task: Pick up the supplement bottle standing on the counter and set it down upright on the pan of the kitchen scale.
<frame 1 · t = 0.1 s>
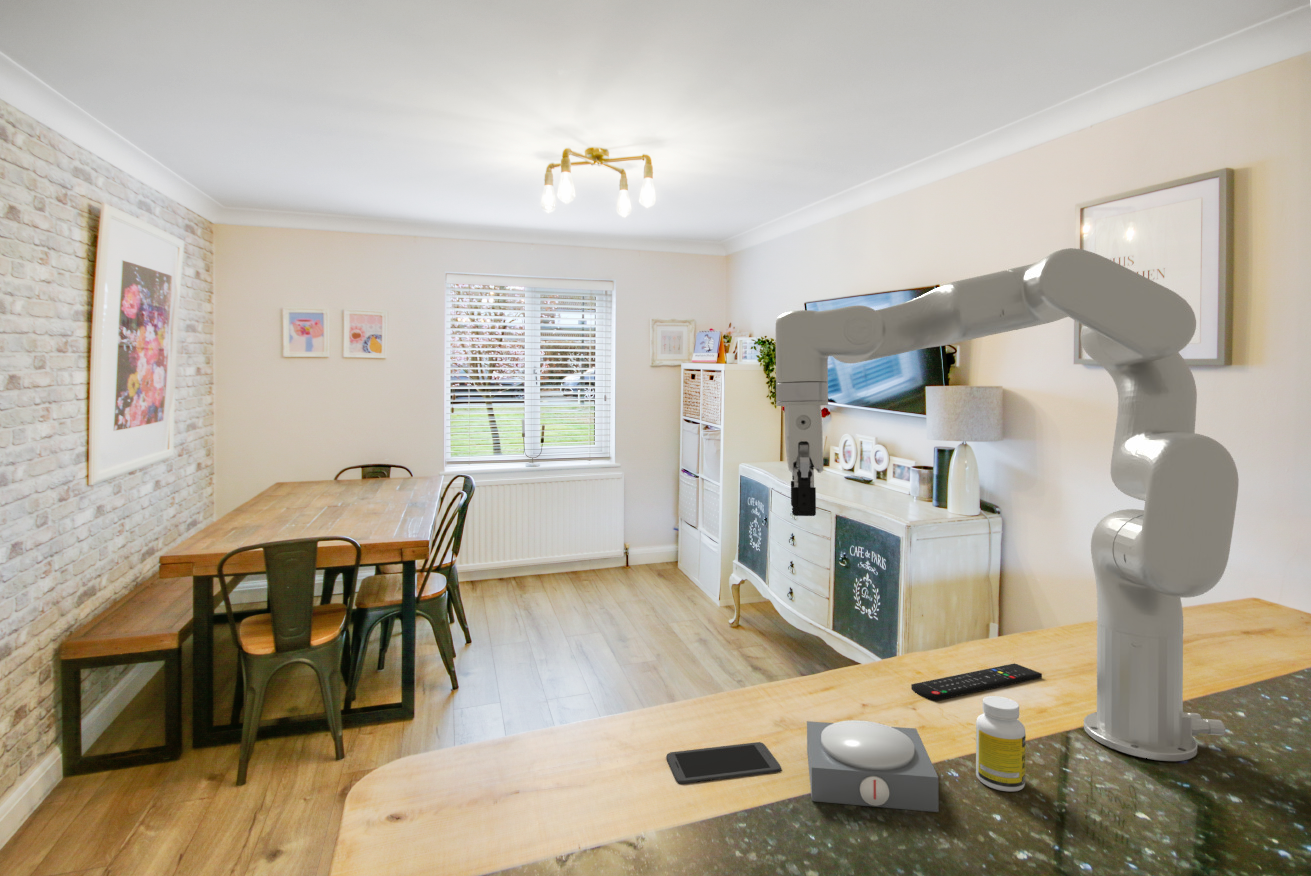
hand: (802, 510, 98), 31 cm above the kitchen counter, tool pointing down, fingers open, 9 cm apart
cell phone: (722, 767, 86), on the kitchen counter
supplement bottle: (1000, 782, 81), on the kitchen counter
kitchen scale: (867, 778, 82), on the kitchen counter
remote control: (976, 688, 110), on the kitchen counter
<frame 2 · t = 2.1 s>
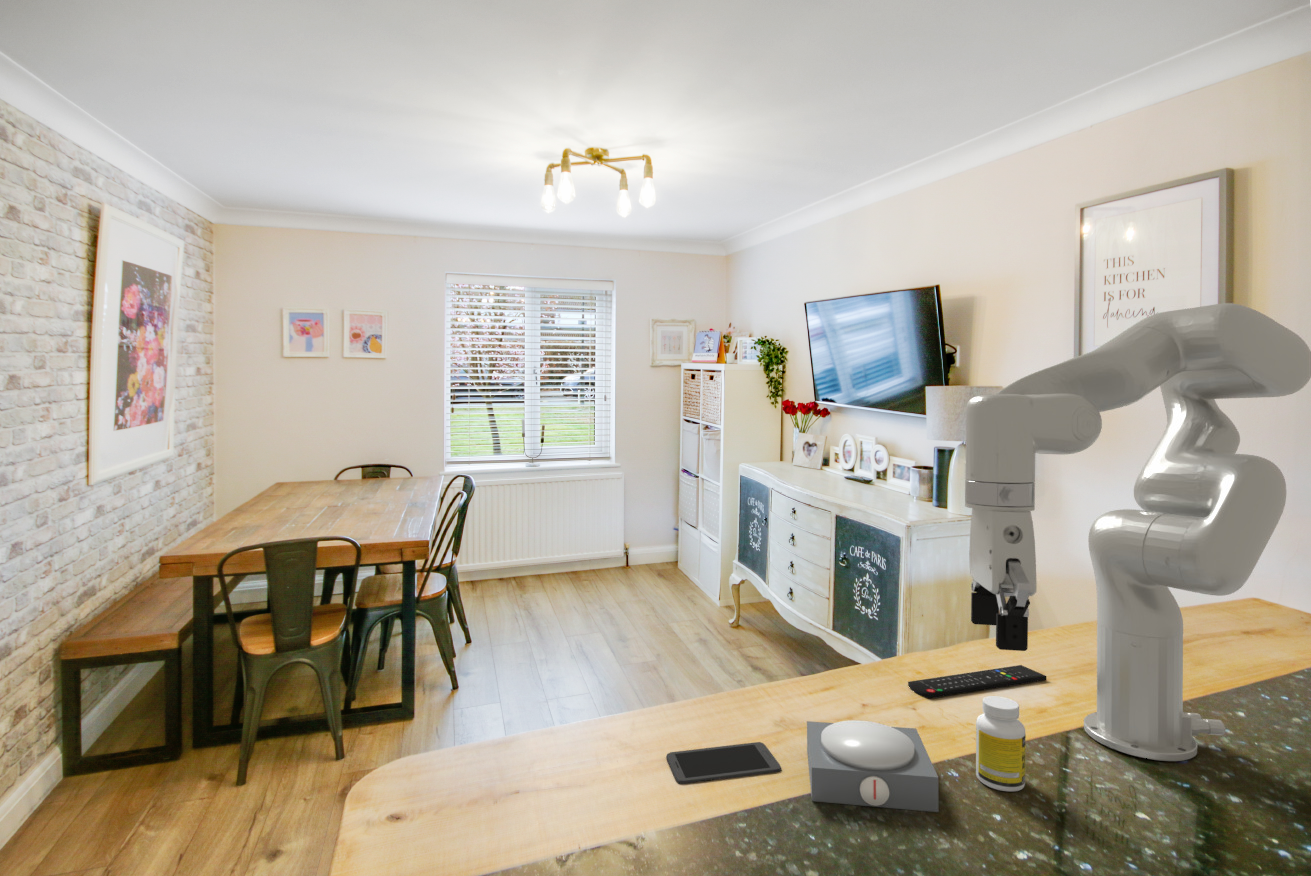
hand: (997, 635, 80), 18 cm above the kitchen counter, tool pointing down, fingers open, 9 cm apart
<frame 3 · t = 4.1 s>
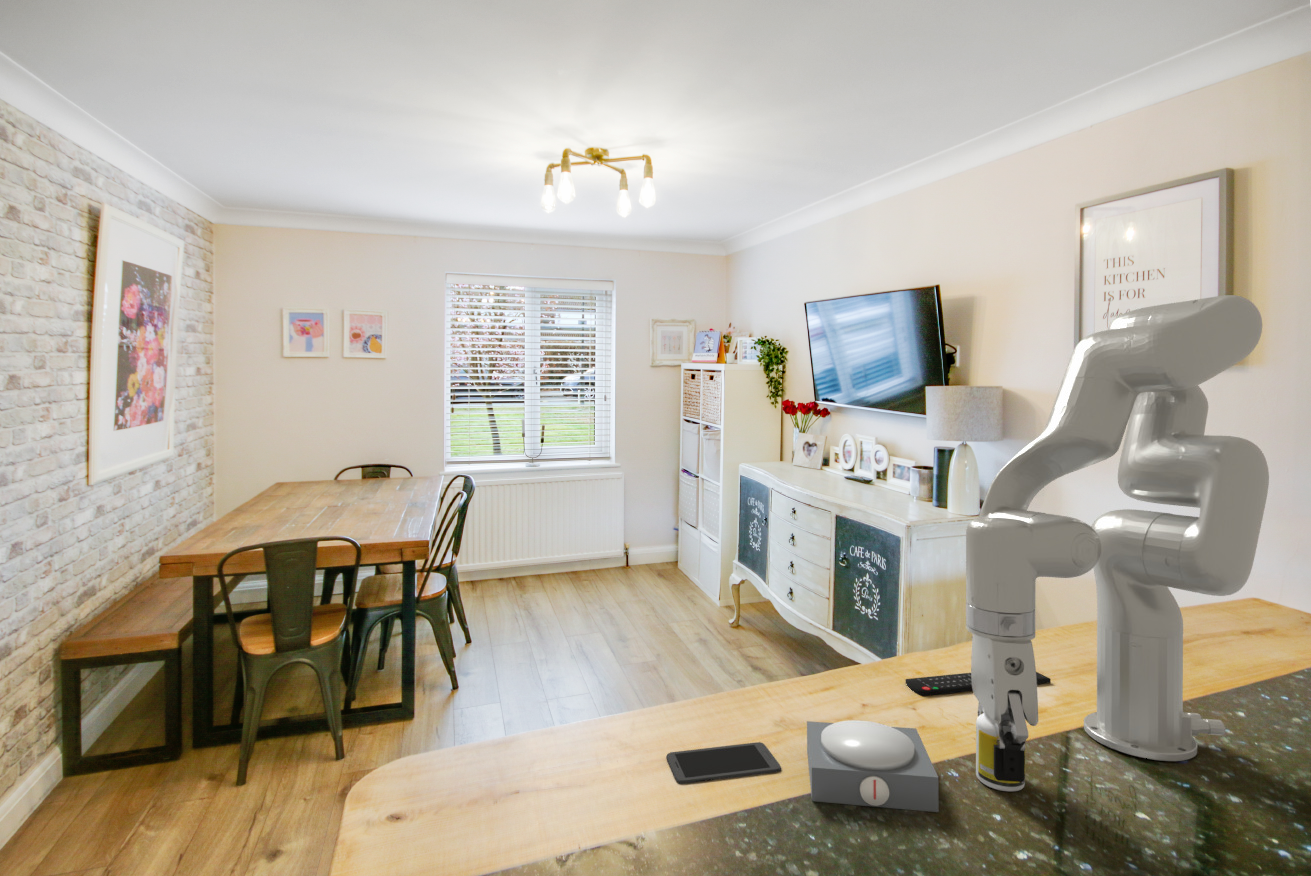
hand: (1000, 764, 81), 2 cm above the kitchen counter, tool pointing down, fingers closed on supplement bottle, 5 cm apart
supplement bottle: (1000, 782, 81), on the kitchen counter, touching gripper
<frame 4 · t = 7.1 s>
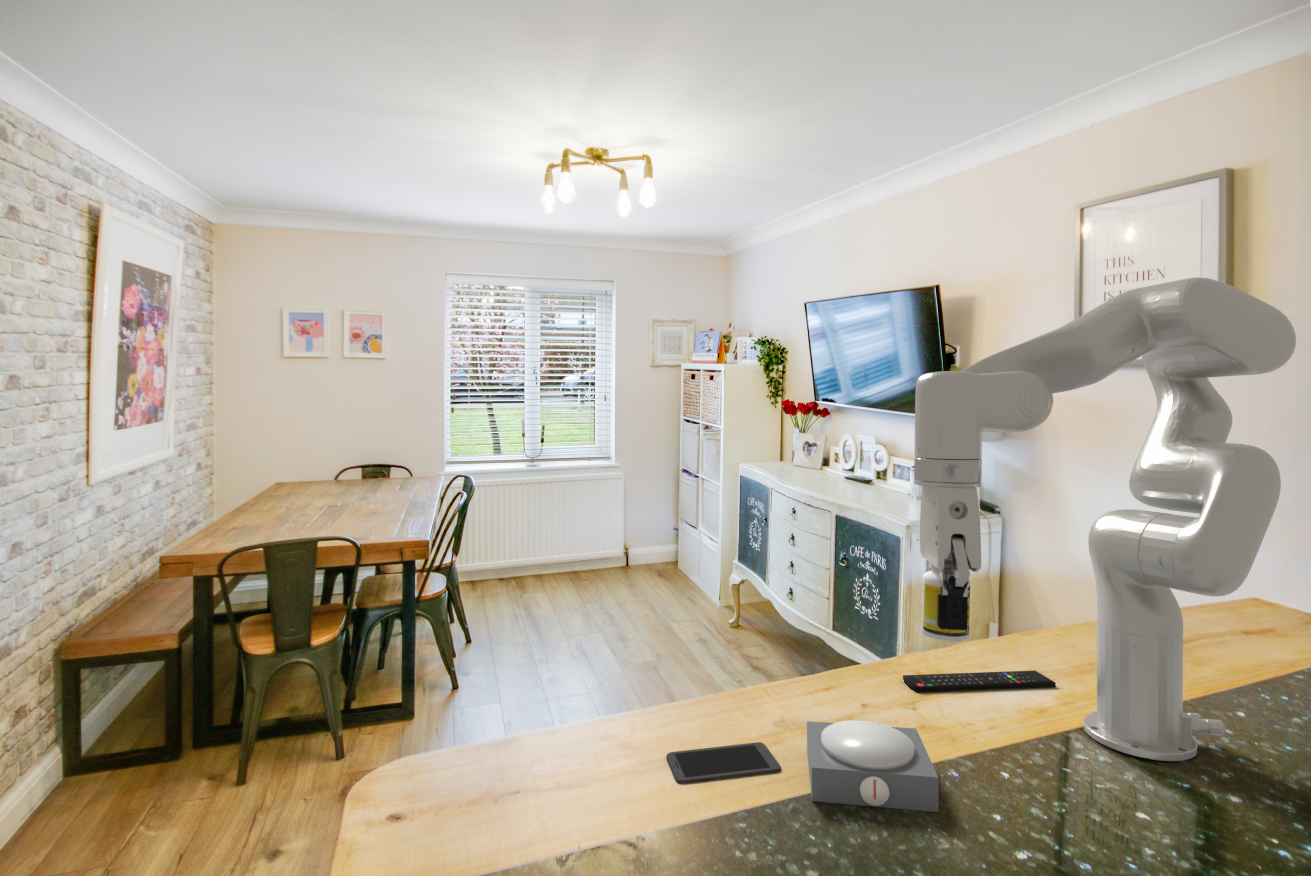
hand: (944, 619, 80), 20 cm above the kitchen counter, tool pointing down, fingers closed on supplement bottle, 5 cm apart
supplement bottle: (944, 637, 81), point 18 cm above the kitchen counter, touching gripper
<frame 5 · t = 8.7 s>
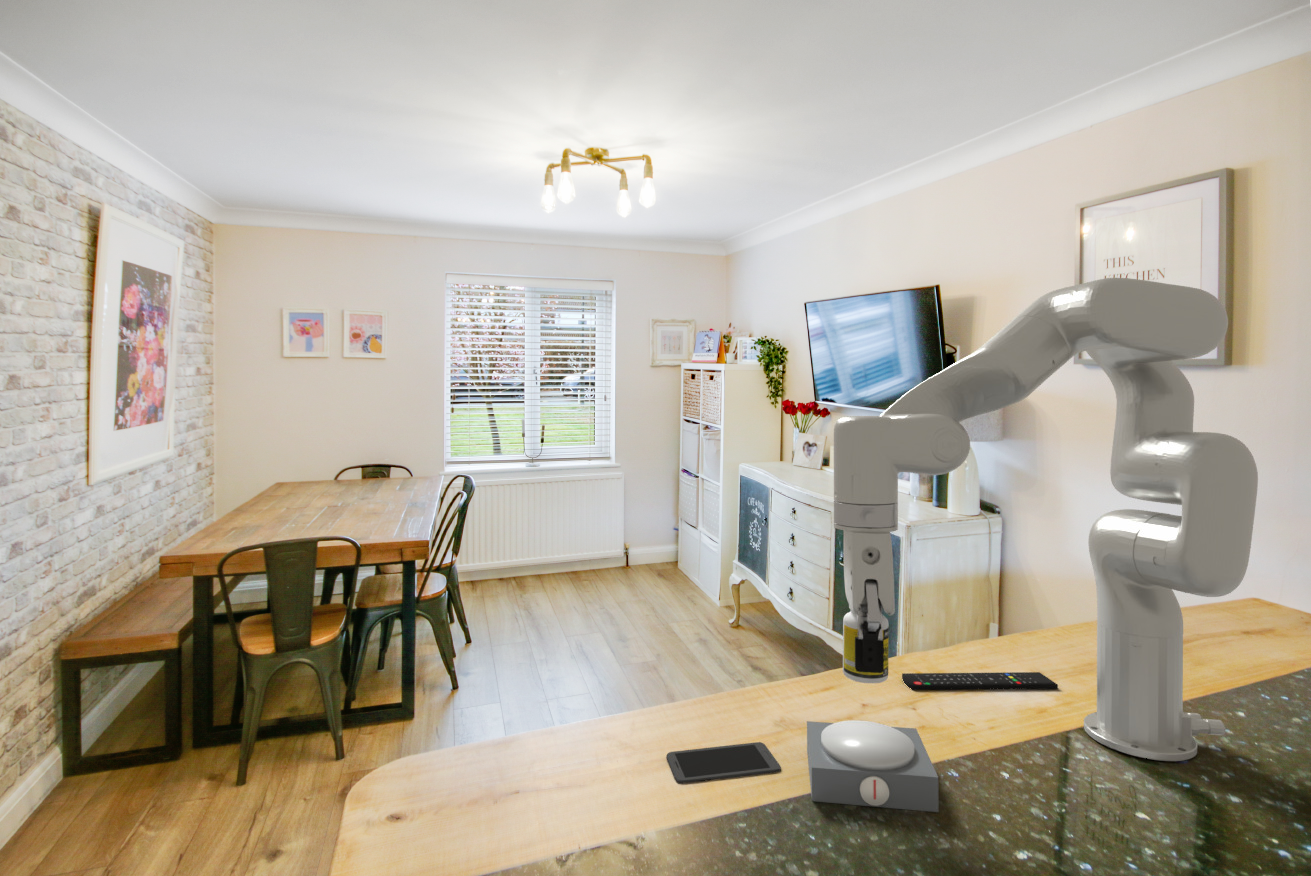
hand: (865, 660, 81), 15 cm above the kitchen counter, tool pointing down, fingers closed on supplement bottle, 5 cm apart
supplement bottle: (865, 677, 81), point 13 cm above the kitchen counter, touching gripper
when the fingers open (8 cm above the kitchen counter, at t = 10.2 s): supplement bottle drops 1 cm, resting on kitchen scale.
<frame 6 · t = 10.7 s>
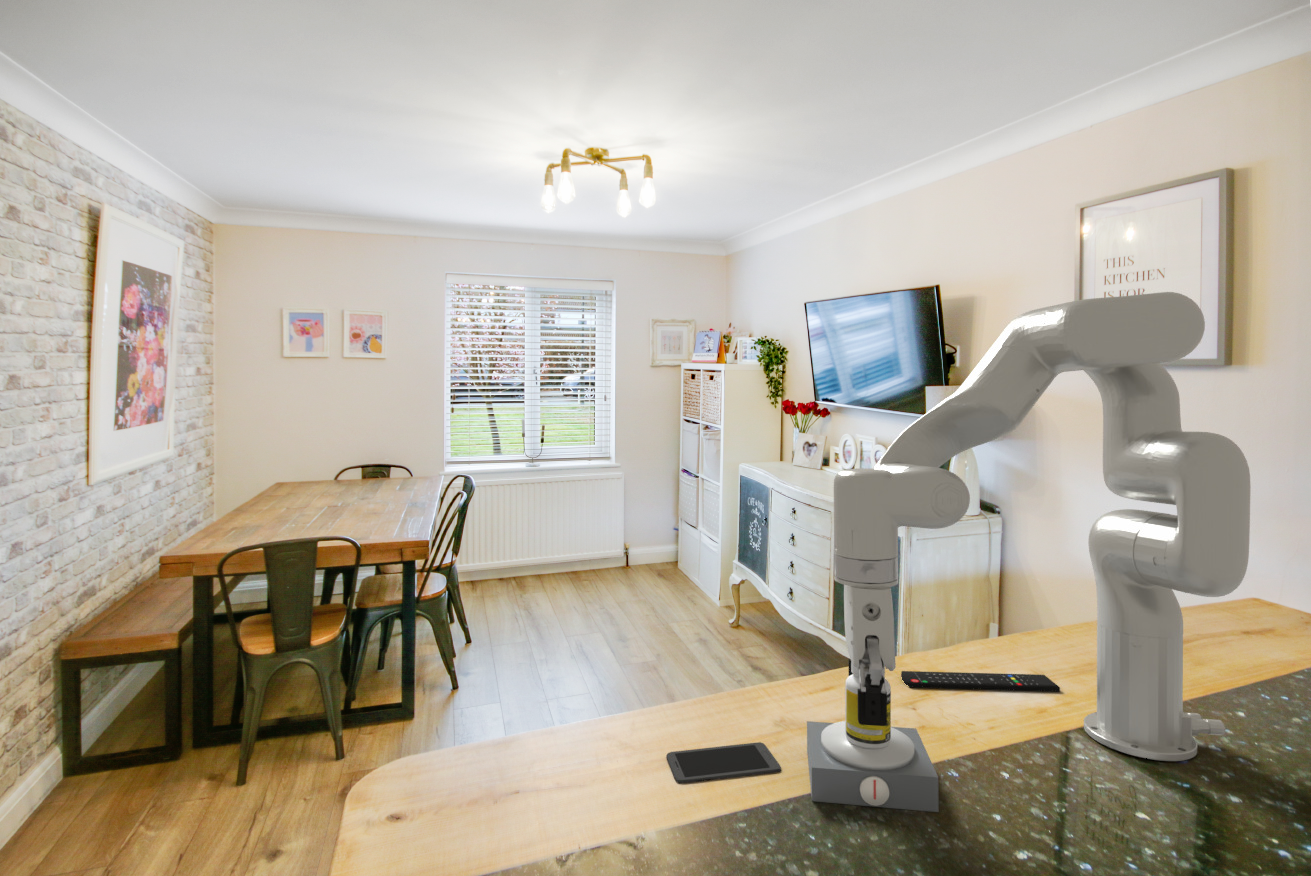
hand: (866, 706, 81), 9 cm above the kitchen counter, tool pointing down, fingers open, 9 cm apart
supplement bottle: (868, 741, 82), point 5 cm above the kitchen counter, touching kitchen scale
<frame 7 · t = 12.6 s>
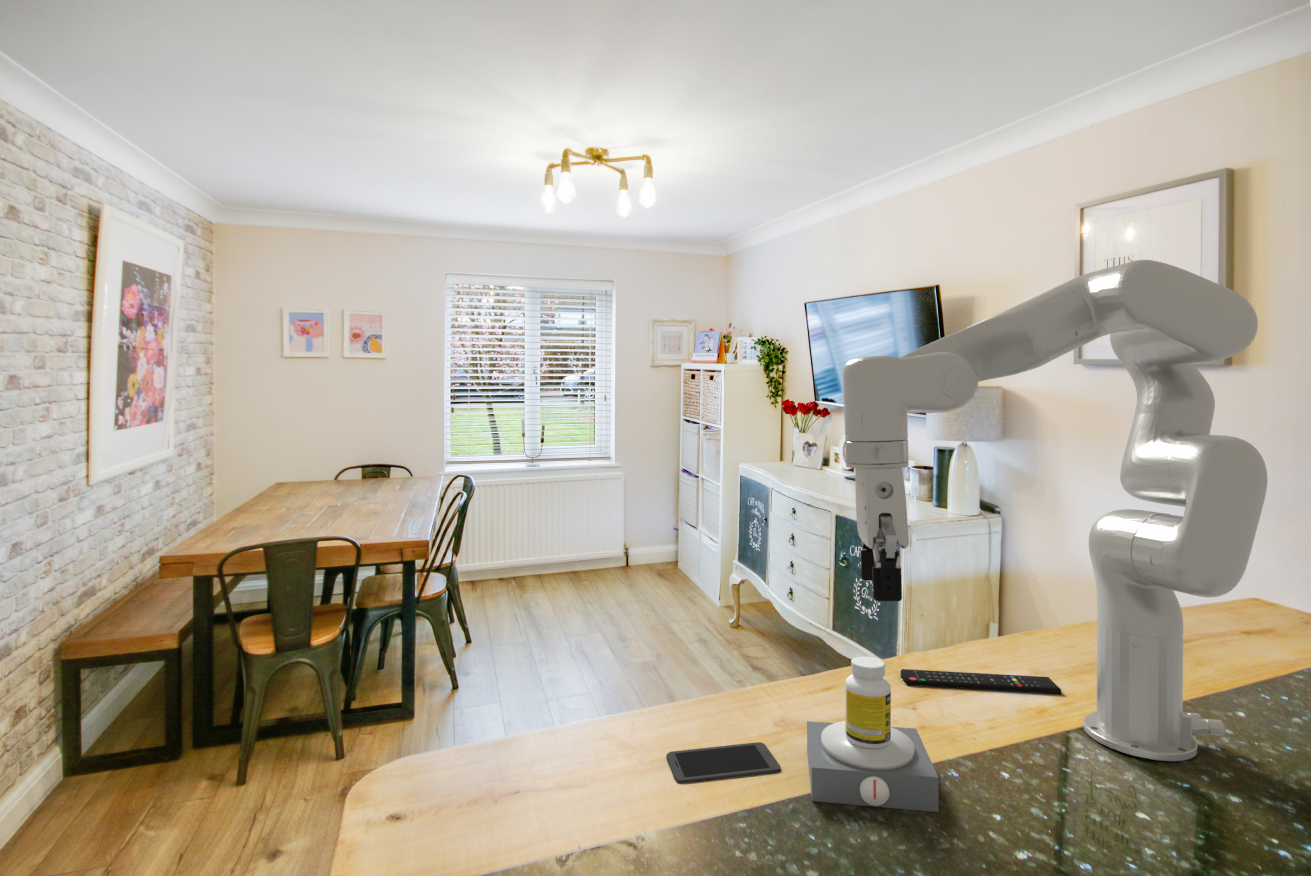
hand: (880, 589, 83), 23 cm above the kitchen counter, tool pointing down, fingers open, 9 cm apart
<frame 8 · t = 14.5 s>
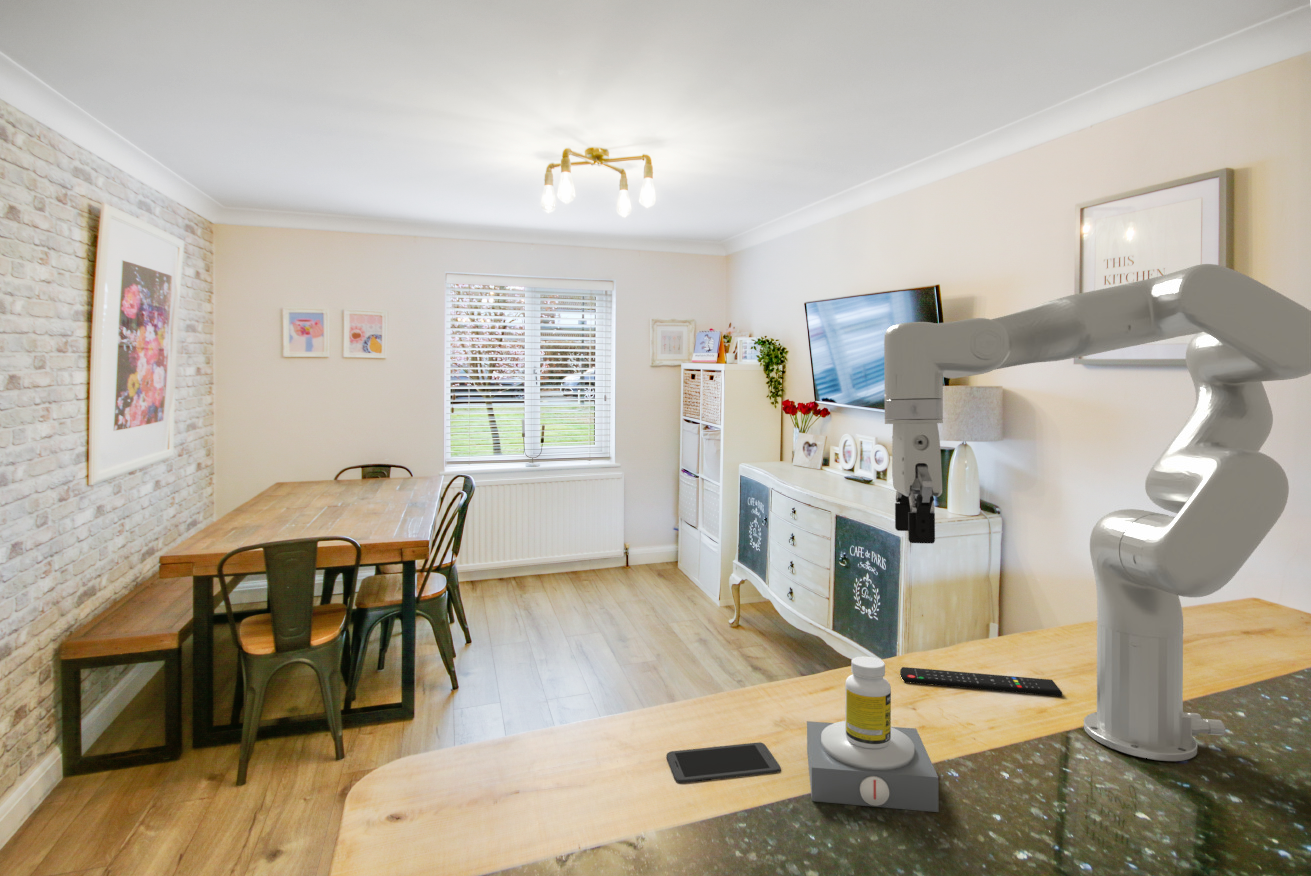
hand: (913, 536, 91), 28 cm above the kitchen counter, tool pointing down, fingers open, 9 cm apart
at the end: supplement bottle inside the target area on the kitchen scale (0.3 cm from its centre), point 4.6 cm above the kitchen scale's base; supplement bottle tilted 0°; the gripper is holding nothing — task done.
